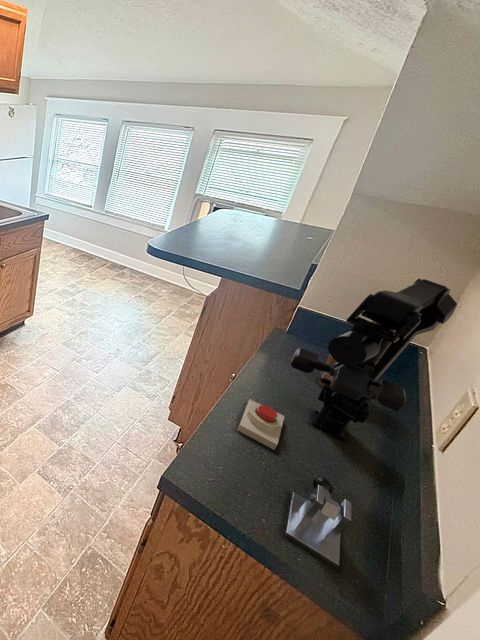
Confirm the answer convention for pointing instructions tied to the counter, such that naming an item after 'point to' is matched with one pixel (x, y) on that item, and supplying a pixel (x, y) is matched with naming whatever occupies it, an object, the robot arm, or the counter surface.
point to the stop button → (266, 413)
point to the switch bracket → (317, 525)
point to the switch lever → (327, 498)
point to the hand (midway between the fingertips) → (325, 405)
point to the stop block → (260, 426)
